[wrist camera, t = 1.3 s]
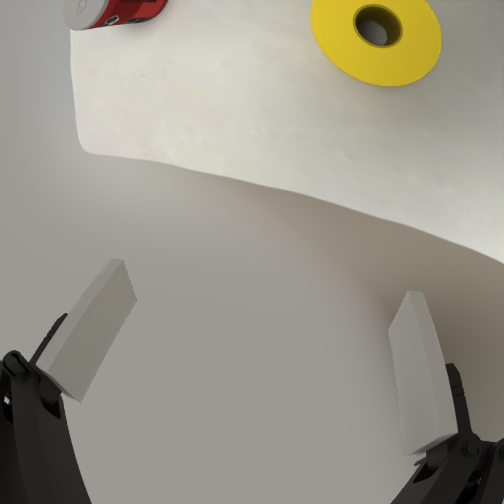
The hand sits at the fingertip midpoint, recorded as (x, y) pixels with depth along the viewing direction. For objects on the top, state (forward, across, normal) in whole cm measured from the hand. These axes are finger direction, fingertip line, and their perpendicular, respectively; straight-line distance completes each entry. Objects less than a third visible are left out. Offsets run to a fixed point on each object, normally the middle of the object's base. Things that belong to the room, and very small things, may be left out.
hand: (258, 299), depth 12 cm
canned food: (+26, -18, +22) cm, 39 cm away
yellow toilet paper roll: (+22, +8, +15) cm, 28 cm away
